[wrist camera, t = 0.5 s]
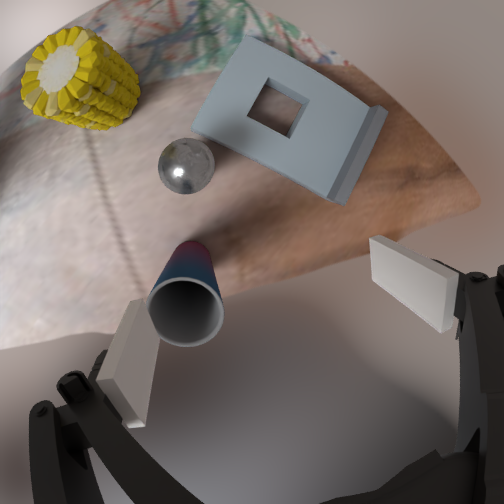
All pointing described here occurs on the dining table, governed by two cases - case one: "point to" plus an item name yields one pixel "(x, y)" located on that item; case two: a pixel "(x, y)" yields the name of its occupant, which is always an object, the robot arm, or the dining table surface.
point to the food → (79, 81)
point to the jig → (303, 128)
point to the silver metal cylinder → (186, 166)
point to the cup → (187, 298)
